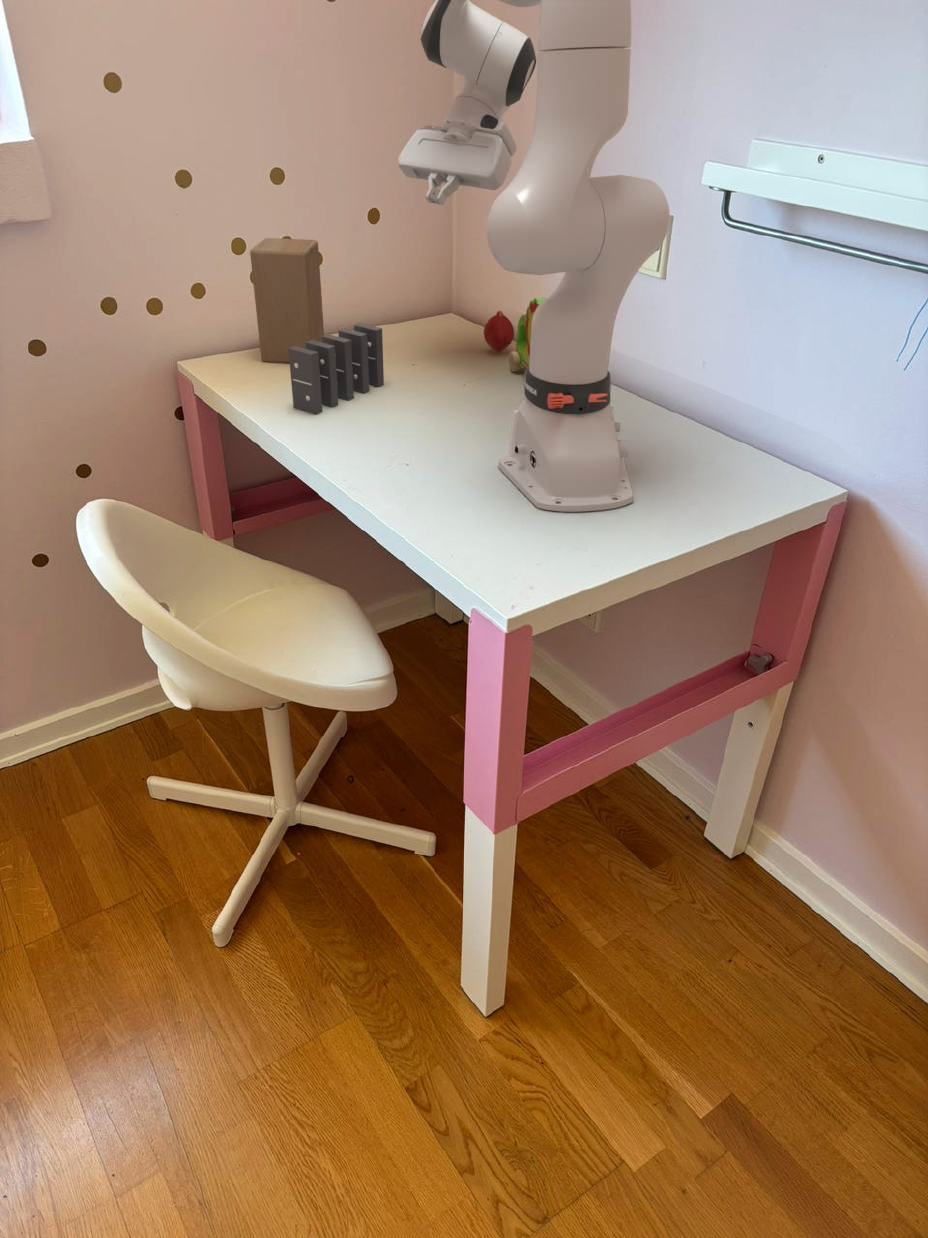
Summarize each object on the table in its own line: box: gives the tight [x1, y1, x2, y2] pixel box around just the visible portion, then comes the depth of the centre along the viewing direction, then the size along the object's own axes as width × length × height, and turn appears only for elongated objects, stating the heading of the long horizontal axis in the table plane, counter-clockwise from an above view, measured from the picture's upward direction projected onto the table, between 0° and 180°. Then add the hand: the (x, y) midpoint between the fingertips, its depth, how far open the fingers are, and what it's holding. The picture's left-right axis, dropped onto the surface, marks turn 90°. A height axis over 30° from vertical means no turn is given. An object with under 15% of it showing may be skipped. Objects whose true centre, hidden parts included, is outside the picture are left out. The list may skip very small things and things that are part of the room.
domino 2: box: [305, 340, 339, 409], centre depth 157 cm, size 2×5×10 cm, turn 55°
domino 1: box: [288, 346, 323, 416], centre depth 155 cm, size 2×5×10 cm, turn 55°
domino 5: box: [353, 322, 385, 388], centre depth 166 cm, size 2×5×10 cm, turn 55°
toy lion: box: [508, 297, 547, 380], centre depth 166 cm, size 16×5×15 cm, turn 14°
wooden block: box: [249, 237, 325, 364], centre depth 175 cm, size 10×10×20 cm
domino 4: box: [337, 328, 370, 395], centre depth 163 cm, size 2×5×10 cm, turn 55°
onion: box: [483, 310, 515, 353], centre depth 181 cm, size 6×6×8 cm
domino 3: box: [322, 334, 355, 402], centre depth 160 cm, size 2×5×10 cm, turn 55°
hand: (434, 201), depth 159 cm, fingers closed
